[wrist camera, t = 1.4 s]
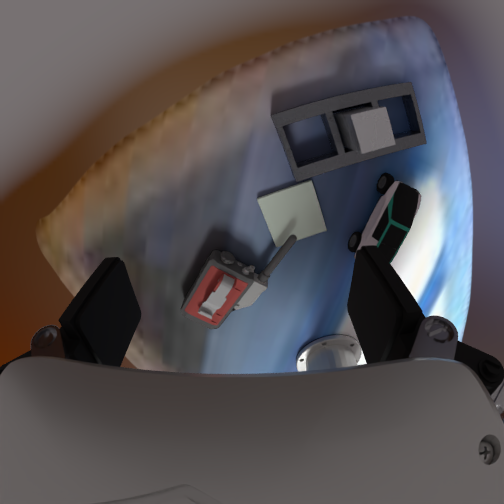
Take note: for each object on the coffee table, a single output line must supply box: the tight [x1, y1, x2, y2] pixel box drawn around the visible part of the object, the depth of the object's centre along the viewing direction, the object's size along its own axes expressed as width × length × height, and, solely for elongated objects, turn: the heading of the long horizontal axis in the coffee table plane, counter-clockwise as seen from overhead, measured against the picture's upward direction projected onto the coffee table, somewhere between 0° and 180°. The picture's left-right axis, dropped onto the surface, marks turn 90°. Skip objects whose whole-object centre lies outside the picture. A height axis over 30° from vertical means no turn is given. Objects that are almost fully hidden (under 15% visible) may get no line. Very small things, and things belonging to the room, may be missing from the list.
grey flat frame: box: [271, 82, 427, 182], centre depth 27 cm, size 18×8×2 cm, turn 111°
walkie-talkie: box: [181, 235, 297, 329], centre depth 36 cm, size 9×4×20 cm
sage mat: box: [257, 180, 327, 247], centre depth 34 cm, size 7×7×1 cm
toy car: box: [348, 173, 421, 263], centre depth 32 cm, size 6×12×5 cm, turn 161°
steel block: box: [333, 107, 396, 154], centre depth 26 cm, size 4×4×7 cm
